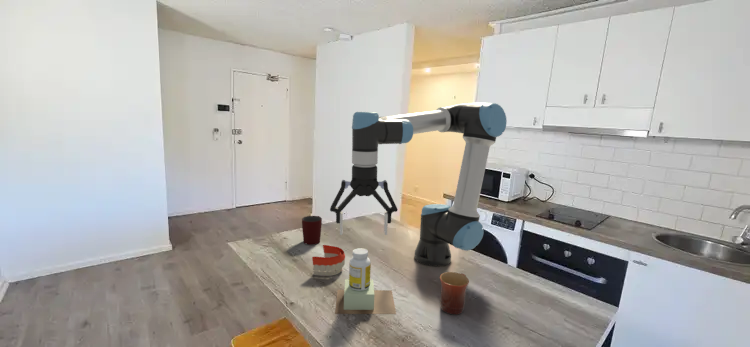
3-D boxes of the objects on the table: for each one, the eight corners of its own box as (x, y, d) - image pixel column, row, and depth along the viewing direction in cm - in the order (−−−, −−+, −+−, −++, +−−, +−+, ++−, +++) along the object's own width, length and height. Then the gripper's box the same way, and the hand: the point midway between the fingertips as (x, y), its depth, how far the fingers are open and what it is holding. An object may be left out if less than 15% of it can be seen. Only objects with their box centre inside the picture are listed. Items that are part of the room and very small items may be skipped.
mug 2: (458, 321, 96) (461, 289, 94) (432, 309, 101) (434, 278, 99) (475, 304, 105) (478, 274, 103) (450, 294, 110) (452, 265, 109)
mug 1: (311, 234, 159) (311, 213, 157) (327, 237, 157) (328, 215, 155) (298, 243, 148) (298, 220, 146) (316, 246, 145) (316, 223, 143)
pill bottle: (369, 281, 105) (371, 247, 103) (370, 292, 98) (371, 255, 96) (349, 280, 105) (350, 246, 102) (348, 291, 98) (349, 255, 96)
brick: (372, 293, 107) (373, 279, 106) (373, 309, 98) (374, 294, 97) (344, 293, 106) (345, 279, 106) (343, 309, 98) (344, 294, 97)
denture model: (339, 282, 116) (339, 261, 114) (311, 278, 117) (311, 258, 116) (348, 266, 128) (349, 247, 126) (323, 263, 130) (323, 244, 128)
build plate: (391, 293, 110) (391, 290, 109) (396, 317, 97) (396, 313, 97) (337, 293, 108) (337, 290, 108) (334, 317, 96) (334, 313, 96)
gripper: (404, 163, 101) (401, 228, 105) (323, 162, 100) (323, 228, 104) (408, 167, 94) (405, 237, 98) (320, 166, 92) (321, 237, 96)
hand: (363, 233), depth 101 cm, fingers open, 13 cm apart
